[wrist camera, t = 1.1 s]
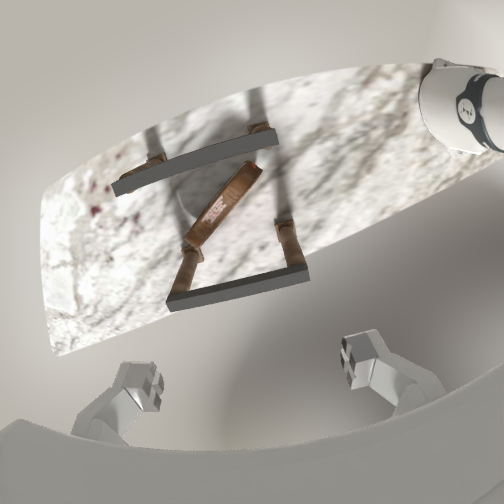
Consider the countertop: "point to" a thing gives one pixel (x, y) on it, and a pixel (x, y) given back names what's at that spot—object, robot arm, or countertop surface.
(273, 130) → the grey bar
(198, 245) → the tin
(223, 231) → the countertop surface
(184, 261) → the wooden stanchion pair
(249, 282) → the dark grey beam
